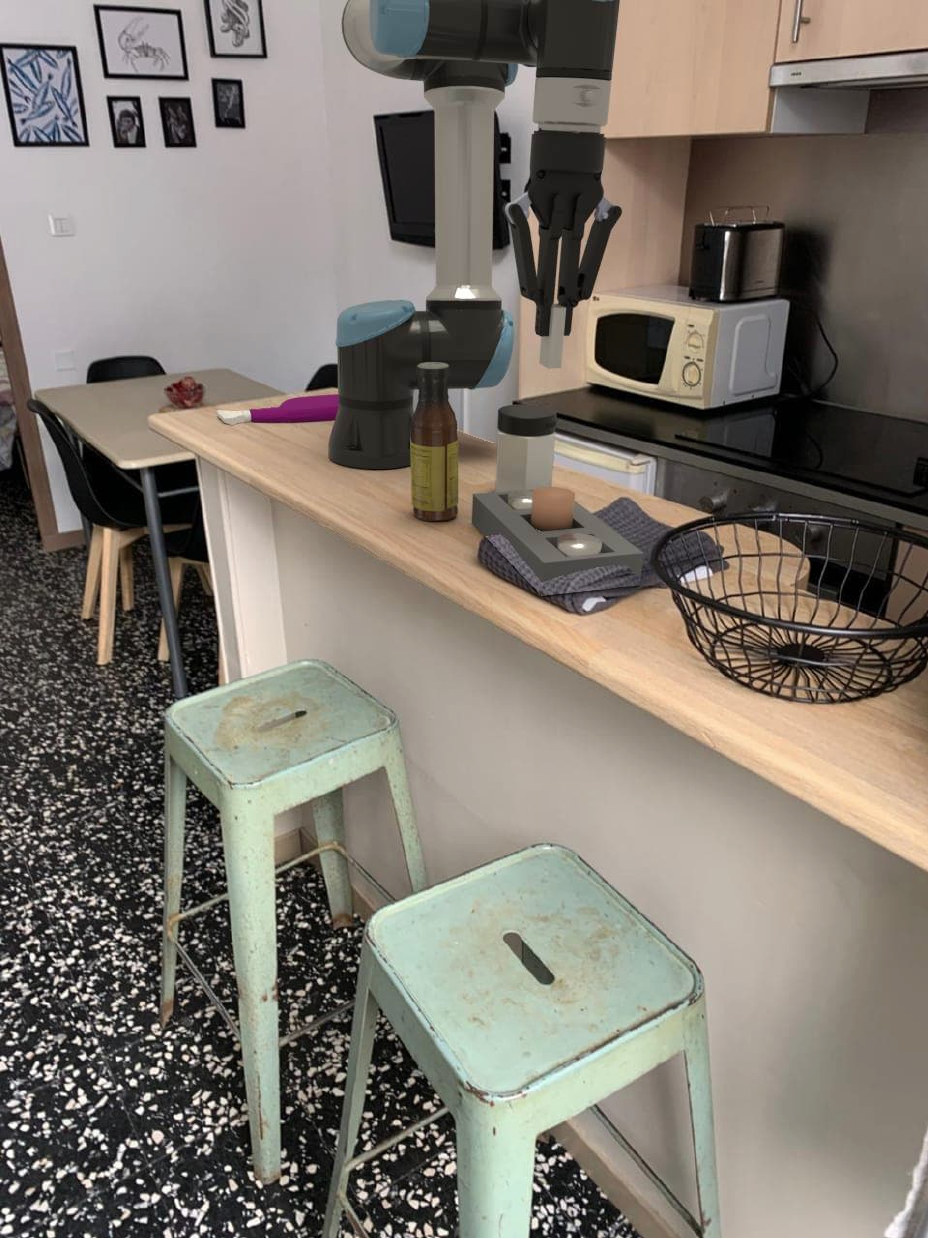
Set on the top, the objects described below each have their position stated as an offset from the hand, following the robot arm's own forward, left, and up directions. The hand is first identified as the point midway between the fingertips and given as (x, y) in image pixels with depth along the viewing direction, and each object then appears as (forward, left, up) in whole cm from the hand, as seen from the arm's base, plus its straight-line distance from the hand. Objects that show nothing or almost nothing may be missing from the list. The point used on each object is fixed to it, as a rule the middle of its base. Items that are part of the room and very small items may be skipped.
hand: (550, 365), depth 105 cm
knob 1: (-7, +1, -22) cm, 23 cm away
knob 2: (+9, +1, -22) cm, 24 cm away
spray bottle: (-73, -20, -23) cm, 79 cm away
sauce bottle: (-15, -9, -22) cm, 28 cm away
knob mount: (+1, +1, -22) cm, 22 cm away
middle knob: (+1, +1, -19) cm, 19 cm away
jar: (-21, +6, -22) cm, 31 cm away
